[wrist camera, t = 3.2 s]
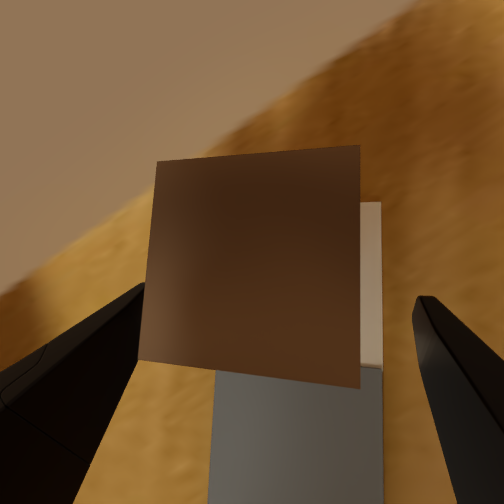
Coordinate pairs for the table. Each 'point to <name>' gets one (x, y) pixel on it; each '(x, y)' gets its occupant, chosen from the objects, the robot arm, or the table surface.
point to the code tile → (371, 285)
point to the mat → (296, 441)
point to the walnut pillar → (257, 265)
